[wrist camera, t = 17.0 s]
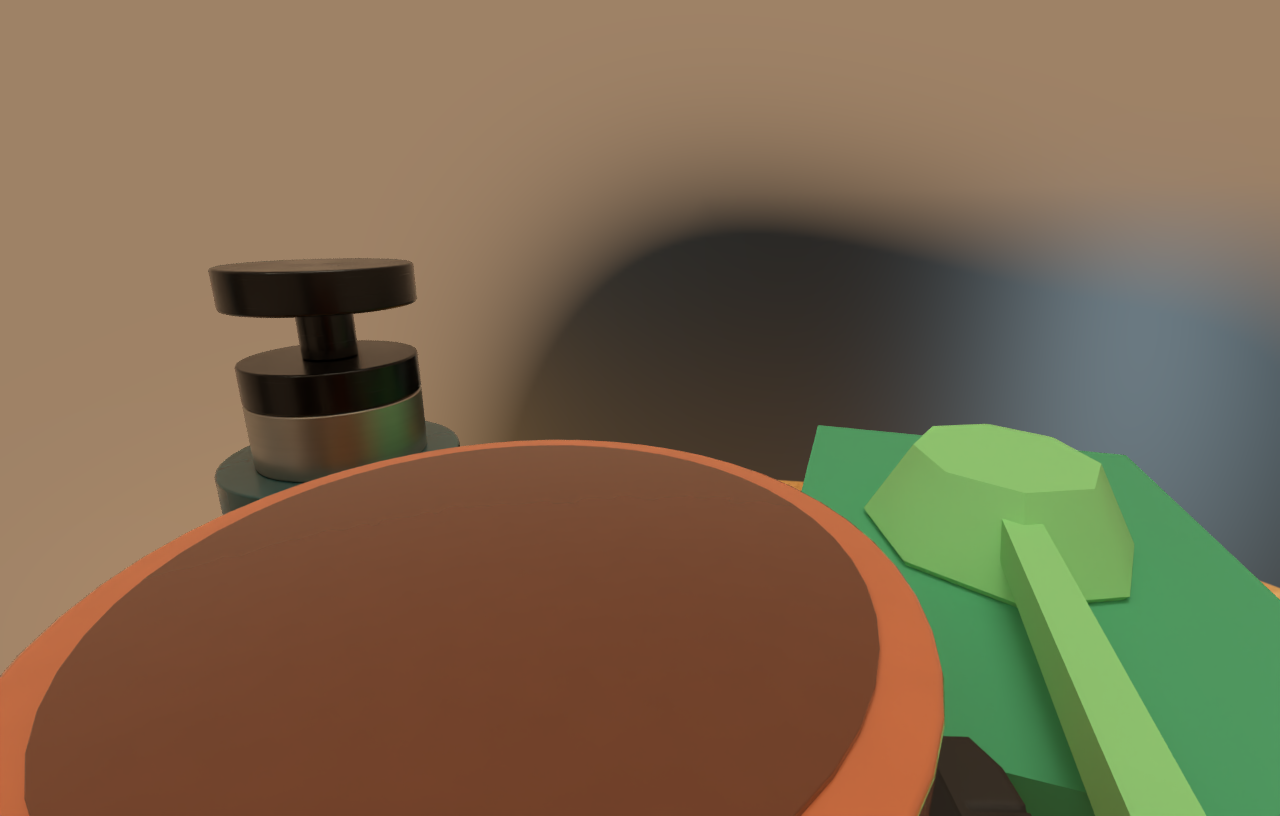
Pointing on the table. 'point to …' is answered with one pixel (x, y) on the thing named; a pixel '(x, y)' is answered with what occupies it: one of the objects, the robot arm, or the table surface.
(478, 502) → the cup
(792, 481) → the table surface
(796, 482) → the table surface
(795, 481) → the table surface
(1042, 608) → the toy tank
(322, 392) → the flask
